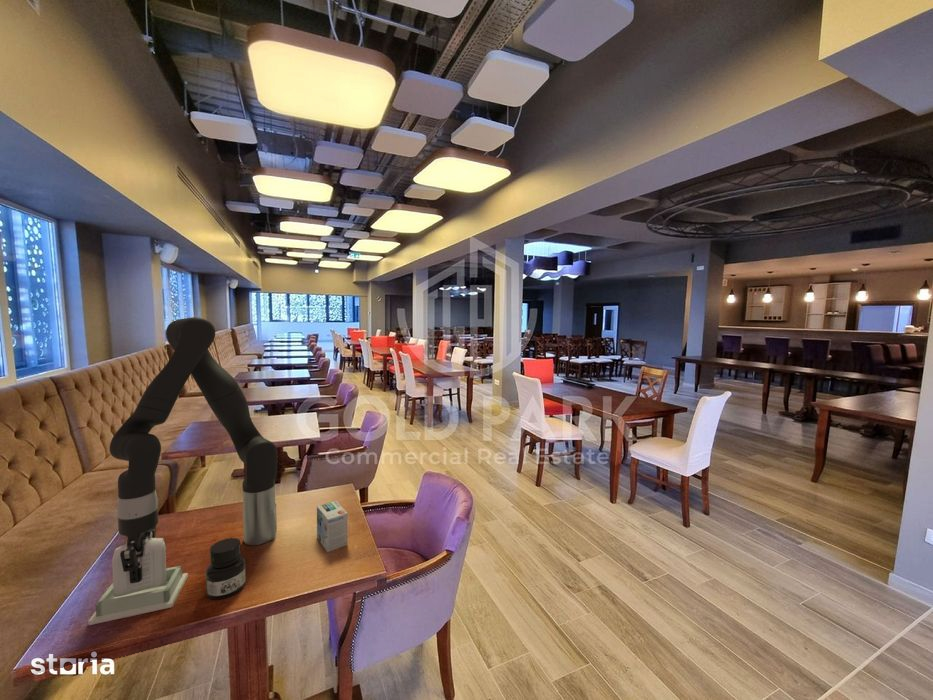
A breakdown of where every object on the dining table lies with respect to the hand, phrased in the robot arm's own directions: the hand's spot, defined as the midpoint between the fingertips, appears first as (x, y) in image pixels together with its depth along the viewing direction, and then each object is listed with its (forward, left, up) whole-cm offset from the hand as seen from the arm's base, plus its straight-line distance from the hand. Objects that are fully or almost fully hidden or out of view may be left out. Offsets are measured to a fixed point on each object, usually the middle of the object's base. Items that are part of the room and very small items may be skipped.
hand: (141, 574), depth 95 cm
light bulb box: (-46, -10, -7) cm, 48 cm away
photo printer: (0, 0, -4) cm, 4 cm away
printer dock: (0, 0, -6) cm, 6 cm away
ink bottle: (-19, +3, -7) cm, 21 cm away
